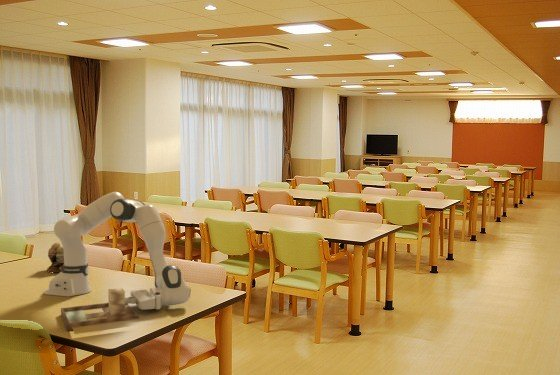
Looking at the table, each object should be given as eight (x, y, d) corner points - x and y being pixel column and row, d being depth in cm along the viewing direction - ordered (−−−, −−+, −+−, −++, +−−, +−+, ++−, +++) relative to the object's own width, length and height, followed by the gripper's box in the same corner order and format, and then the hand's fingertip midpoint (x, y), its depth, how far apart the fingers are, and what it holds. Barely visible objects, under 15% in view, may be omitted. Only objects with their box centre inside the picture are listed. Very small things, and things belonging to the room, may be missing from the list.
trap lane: (127, 306, 267) (127, 300, 266) (138, 321, 245) (138, 314, 245) (61, 314, 254) (61, 308, 254) (67, 331, 232) (66, 324, 232)
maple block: (122, 309, 257) (122, 288, 256) (125, 313, 251) (124, 291, 250) (108, 311, 254) (108, 289, 253) (111, 315, 249) (110, 292, 248)
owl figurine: (75, 272, 334) (74, 243, 332) (55, 275, 325) (54, 245, 324) (62, 266, 346) (61, 238, 345) (42, 269, 338) (41, 241, 336)
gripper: (149, 285, 269) (119, 288, 263) (160, 296, 251) (128, 299, 244) (149, 298, 269) (119, 301, 263) (160, 310, 251) (128, 314, 245)
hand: (124, 300), depth 254 cm, fingers closed
